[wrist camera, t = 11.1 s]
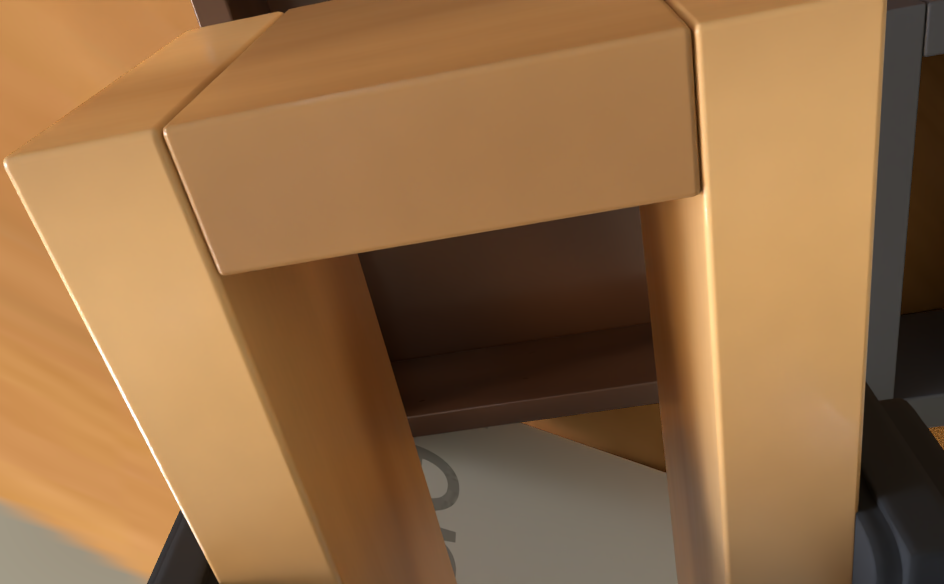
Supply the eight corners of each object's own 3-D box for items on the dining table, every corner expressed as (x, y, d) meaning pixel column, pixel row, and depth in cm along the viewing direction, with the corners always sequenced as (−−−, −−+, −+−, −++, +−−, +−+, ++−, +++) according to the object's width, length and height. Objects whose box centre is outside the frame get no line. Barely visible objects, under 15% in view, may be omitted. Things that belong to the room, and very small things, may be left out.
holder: (190, -163, 19) (132, -158, 16) (728, -290, 18) (779, -311, 15) (365, 375, 27) (349, 447, 24) (746, 317, 26) (782, 386, 23)
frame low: (805, -20, 21) (868, 14, 17) (1055, -69, 20) (1173, -44, 17) (801, 358, 27) (847, 440, 23) (993, 331, 26) (1070, 410, 22)
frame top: (184, 29, 9) (-6, 159, 6) (726, -83, 8) (891, -13, 5) (422, 683, 15) (402, 942, 12) (753, 649, 14) (837, 913, 11)
